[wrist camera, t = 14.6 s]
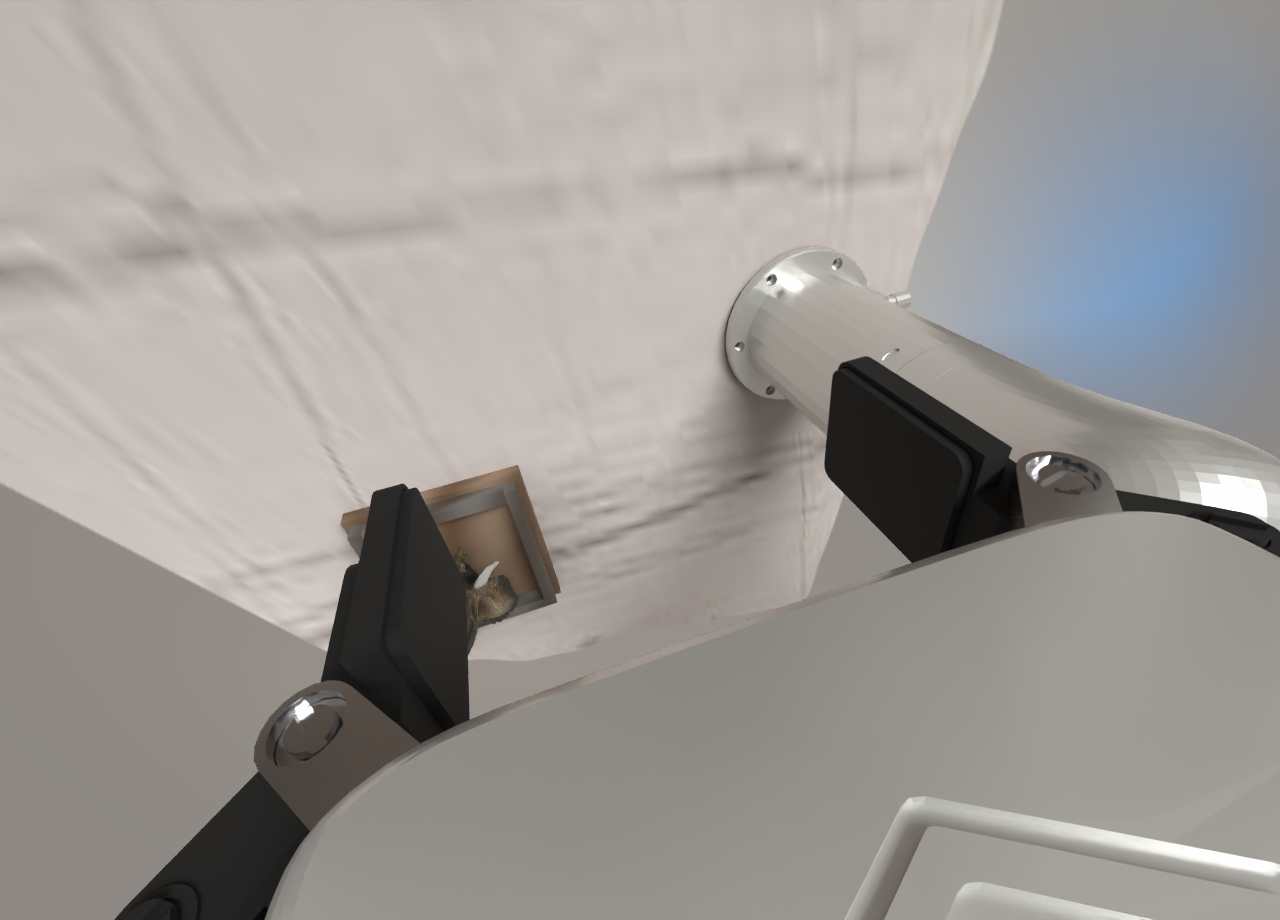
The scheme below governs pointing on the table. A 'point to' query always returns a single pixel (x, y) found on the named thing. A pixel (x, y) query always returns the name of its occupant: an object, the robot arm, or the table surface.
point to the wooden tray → (487, 533)
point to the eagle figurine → (484, 596)
